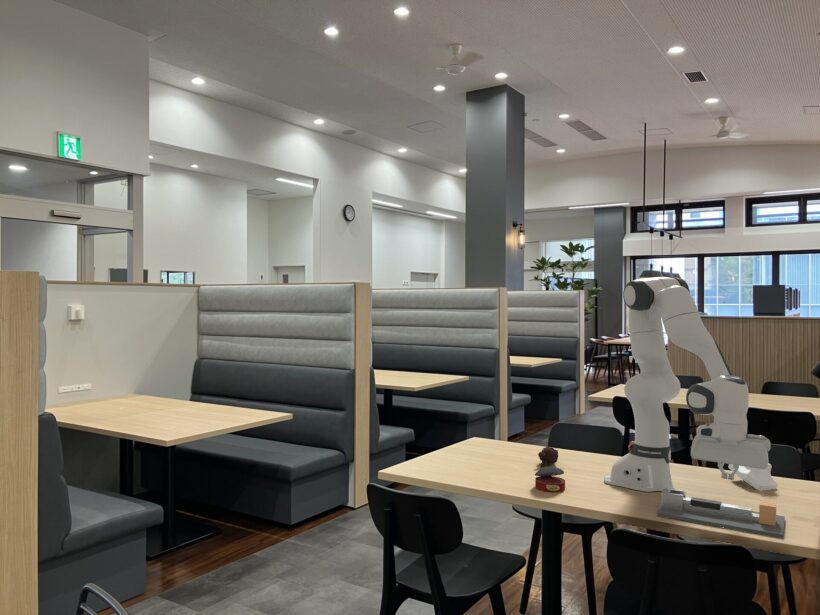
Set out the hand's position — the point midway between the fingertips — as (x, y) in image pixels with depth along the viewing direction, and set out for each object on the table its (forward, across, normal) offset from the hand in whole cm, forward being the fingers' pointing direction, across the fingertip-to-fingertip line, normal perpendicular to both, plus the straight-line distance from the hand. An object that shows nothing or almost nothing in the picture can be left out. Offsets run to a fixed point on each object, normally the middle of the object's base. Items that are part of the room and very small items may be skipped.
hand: (727, 478), depth 187 cm
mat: (+12, +1, 0) cm, 12 cm away
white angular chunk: (+12, -5, -46) cm, 47 cm away
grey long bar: (+11, +2, 0) cm, 11 cm away
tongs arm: (+9, +4, 0) cm, 10 cm away
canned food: (+13, +53, -1) cm, 55 cm away
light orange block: (+10, -11, 0) cm, 15 cm away
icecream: (+14, +65, -32) cm, 74 cm away
